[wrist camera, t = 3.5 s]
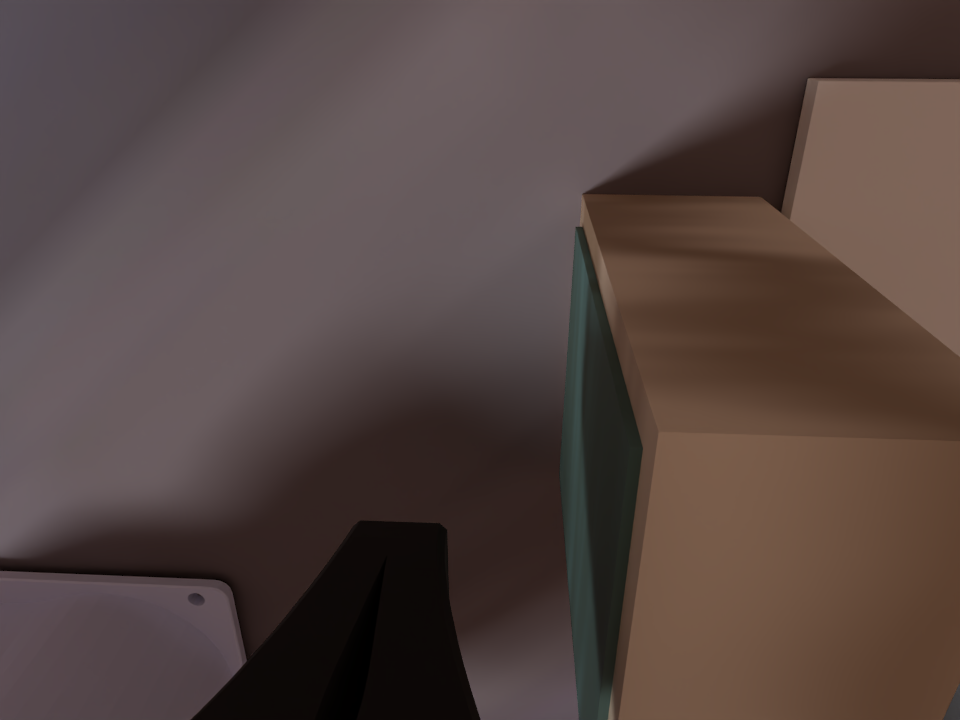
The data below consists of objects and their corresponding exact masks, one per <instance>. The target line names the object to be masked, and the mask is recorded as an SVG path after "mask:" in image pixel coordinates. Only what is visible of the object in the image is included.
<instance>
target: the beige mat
mask: <svg viewBox="0 0 960 720" xmlns="http://www.w3.org/2000/svg"><path fill="white" fill-rule="evenodd" d="M781 213H782V214H783V215H784V216H785V217H787V218H788V219H789V220H790V221H791V222H793V223H794V224H795V225H796V226H798V227H799V228H800V229H801V230H803V231H804V232H805V233H806V234H808V235H809V236H810V237H811V238H813V239H814V240H815V241H816V242H818V243H819V244H820V245H821V246H823V247H824V248H825V249H826V250H828V251H829V252H830V253H831V254H832V255H834V256H835V257H836V258H837V259H839V260H840V261H841V262H842V263H844V264H845V265H846V266H847V267H849V268H850V269H851V270H852V271H854V272H855V273H856V274H857V275H859V276H860V277H861V278H862V279H864V280H865V281H866V282H867V283H868V284H870V285H871V286H872V287H873V288H875V289H876V290H877V291H878V292H880V293H881V294H882V295H883V296H885V297H886V298H887V299H888V300H890V301H891V302H892V303H893V304H895V305H896V306H897V307H898V308H900V309H901V310H902V311H903V312H905V313H906V314H907V315H908V316H909V317H911V318H912V319H913V320H914V321H916V322H917V323H918V324H919V325H921V326H922V327H923V328H924V329H926V330H927V331H928V332H929V333H931V334H932V335H933V336H934V337H936V338H937V339H938V340H939V341H941V342H942V343H943V344H944V345H946V346H947V347H948V348H949V349H950V350H952V351H953V352H954V353H955V354H957V355H958V356H959V357H960V79H863V78H808V80H807V85H806V90H805V95H804V100H803V105H802V110H801V115H800V120H799V125H798V130H797V135H796V140H795V145H794V150H793V155H792V160H791V165H790V170H789V175H788V180H787V185H786V190H785V195H784V200H783V205H782V210H781Z"/></svg>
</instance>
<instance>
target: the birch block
mask: <svg viewBox="0 0 960 720" xmlns="http://www.w3.org/2000/svg"><path fill="white" fill-rule="evenodd" d="M559 476H560V489H561V501H562V514H563V526H564V538H565V551H566V563H567V575H568V588H569V600H570V613H571V625H572V637H573V650H574V662H575V675H576V687H577V699H578V712H579V720H943V718H944V716H945V713H946V711H947V709H948V707H949V705H950V702H951V700H952V698H953V696H954V694H955V691H956V689H957V687H958V685H959V683H960V357H959V356H958V355H957V354H955V353H954V352H953V351H952V350H950V349H949V348H948V347H947V346H946V345H944V344H943V343H942V342H941V341H939V340H938V339H937V338H936V337H934V336H933V335H932V334H931V333H929V332H928V331H927V330H926V329H924V328H923V327H922V326H921V325H919V324H918V323H917V322H916V321H914V320H913V319H912V318H911V317H909V316H908V315H907V314H906V313H905V312H903V311H902V310H901V309H900V308H898V307H897V306H896V305H895V304H893V303H892V302H891V301H890V300H888V299H887V298H886V297H885V296H883V295H882V294H881V293H880V292H878V291H877V290H876V289H875V288H873V287H872V286H871V285H870V284H868V283H867V282H866V281H865V280H864V279H862V278H861V277H860V276H859V275H857V274H856V273H855V272H854V271H852V270H851V269H850V268H849V267H847V266H846V265H845V264H844V263H842V262H841V261H840V260H839V259H837V258H836V257H835V256H834V255H832V254H831V253H830V252H829V251H828V250H826V249H825V248H824V247H823V246H821V245H820V244H819V243H818V242H816V241H815V240H814V239H813V238H811V237H810V236H809V235H808V234H806V233H805V232H804V231H803V230H801V229H800V228H799V227H798V226H796V225H795V224H794V223H793V222H791V221H790V220H789V219H788V218H787V217H785V216H784V215H783V214H782V213H780V212H779V211H778V210H777V209H775V208H774V207H773V206H772V205H770V204H769V203H768V202H767V201H765V200H764V199H763V198H762V197H746V196H681V195H617V194H582V206H581V220H580V227H576V231H575V246H574V261H573V276H572V291H571V307H570V322H569V337H568V352H567V367H566V382H565V397H564V412H563V427H562V442H561V457H560V472H559Z"/></svg>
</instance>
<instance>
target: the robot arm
mask: <svg viewBox="0 0 960 720" xmlns="http://www.w3.org/2000/svg"><path fill="white" fill-rule="evenodd" d="M196 593H197V594H196ZM198 594H200V595H201V596H200V595H198ZM0 720H480V717H479V714H478V711H477V707H476V704H475V701H474V698H473V695H472V691H471V688H470V685H469V681H468V678H467V674H466V671H465V667H464V664H463V660H462V656H461V652H460V648H459V644H458V640H457V635H456V631H455V626H454V621H453V617H452V612H451V607H450V601H449V583H448V546H447V530H446V529H445V528H444V527H443V526H442V525H441V524H440V523H413V522H384V521H359V522H358V523H357V524H356V525H354V526H353V528H352V529H351V531H350V532H349V533H348V535H347V536H346V538H345V539H344V541H343V542H342V544H341V545H340V546H339V548H338V549H337V551H336V552H335V554H334V555H333V556H332V558H331V559H330V560H329V562H328V563H327V565H326V566H325V567H324V569H323V570H322V571H321V572H320V574H319V575H318V576H317V578H316V579H315V580H314V582H313V583H312V584H311V586H310V587H309V588H308V590H307V591H306V592H305V593H304V594H303V596H302V597H301V598H300V599H299V601H298V602H297V603H296V604H295V606H294V607H293V608H292V609H291V611H290V612H289V613H288V614H287V616H286V617H285V618H284V619H283V620H282V622H281V623H280V624H279V625H278V627H277V628H276V629H275V630H274V631H273V632H272V634H271V635H270V636H269V637H268V638H267V639H266V640H265V641H264V643H263V644H262V645H261V646H260V647H259V648H258V649H257V650H256V651H255V653H254V654H253V655H252V656H251V657H250V658H249V659H248V660H247V659H246V654H245V650H244V645H243V640H242V636H241V631H240V626H239V621H238V617H237V612H236V607H235V602H234V598H233V593H232V591H231V588H230V587H229V586H228V585H227V584H226V583H224V582H222V581H219V580H209V579H185V578H161V577H137V576H112V575H88V574H64V573H39V572H15V571H0Z"/></svg>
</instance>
